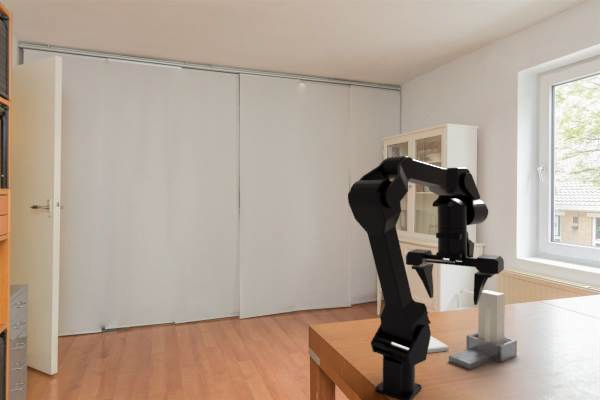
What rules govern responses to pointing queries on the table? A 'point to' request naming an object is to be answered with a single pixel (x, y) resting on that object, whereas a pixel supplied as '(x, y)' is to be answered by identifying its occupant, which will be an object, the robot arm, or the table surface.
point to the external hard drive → (430, 346)
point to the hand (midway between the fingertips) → (452, 300)
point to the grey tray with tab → (483, 352)
